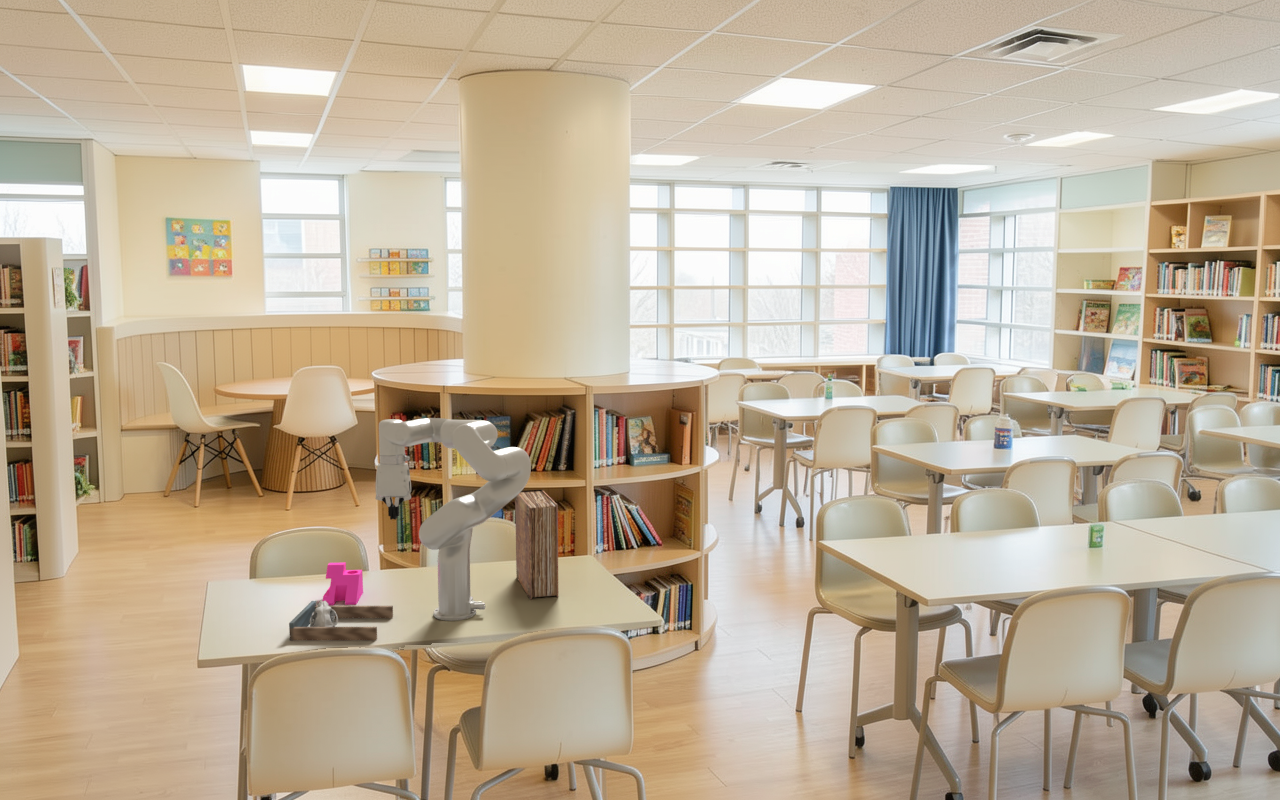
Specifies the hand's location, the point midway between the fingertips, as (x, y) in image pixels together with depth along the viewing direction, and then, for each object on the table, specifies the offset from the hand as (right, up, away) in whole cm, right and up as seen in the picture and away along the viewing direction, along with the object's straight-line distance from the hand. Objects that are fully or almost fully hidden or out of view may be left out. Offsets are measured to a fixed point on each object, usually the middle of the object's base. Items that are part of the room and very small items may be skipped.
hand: (394, 518), depth 299 cm
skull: (-15, -30, -19) cm, 38 cm away
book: (+42, -25, +20) cm, 53 cm away
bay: (-10, -29, -19) cm, 36 cm away
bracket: (-18, -27, +8) cm, 33 cm away
